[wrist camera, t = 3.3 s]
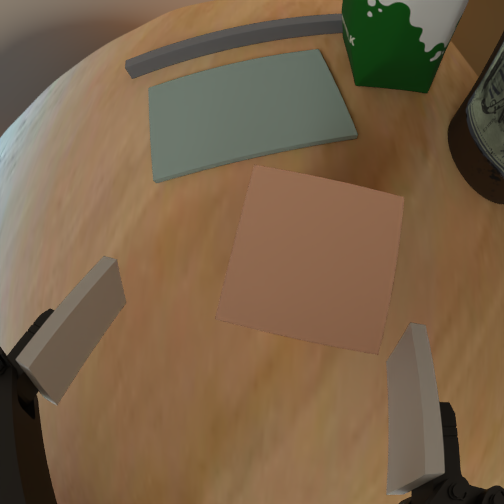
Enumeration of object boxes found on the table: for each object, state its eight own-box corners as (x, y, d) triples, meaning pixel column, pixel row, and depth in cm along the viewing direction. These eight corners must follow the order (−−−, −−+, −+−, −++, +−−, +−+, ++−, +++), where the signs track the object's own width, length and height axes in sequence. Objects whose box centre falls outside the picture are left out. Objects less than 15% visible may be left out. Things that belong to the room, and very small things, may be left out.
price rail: (390, 24, 25) (393, 12, 23) (396, 31, 24) (399, 20, 23) (132, 70, 27) (125, 59, 25) (132, 78, 26) (125, 68, 25)
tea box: (343, 258, 21) (404, 197, 9) (328, 330, 20) (378, 354, 8) (271, 242, 22) (251, 164, 10) (254, 314, 21) (211, 318, 9)
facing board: (318, 53, 24) (318, 49, 24) (356, 138, 22) (357, 134, 22) (150, 91, 26) (148, 88, 25) (156, 183, 24) (153, 180, 23)
